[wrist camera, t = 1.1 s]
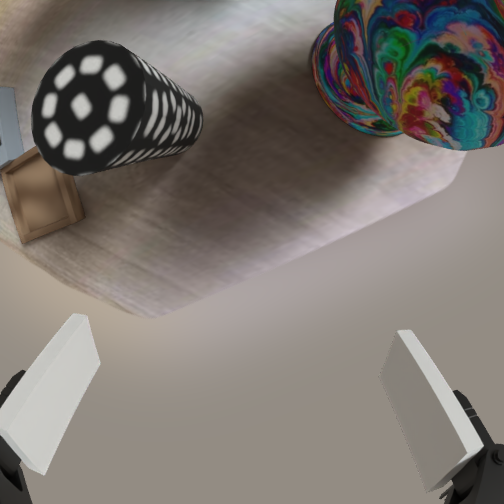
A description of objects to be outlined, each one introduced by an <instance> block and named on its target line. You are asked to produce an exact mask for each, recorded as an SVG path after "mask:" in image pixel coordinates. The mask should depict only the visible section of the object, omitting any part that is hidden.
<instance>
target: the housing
mask: <svg viewBox="0 0 504 504" xmlns="http://www.w3.org/2000/svg"><path fill="white" fill-rule="evenodd" d="M0 138H1V144H2V145H1V146H0V169H1V168H3V167H4V166H6V165H7V164H9V163H10V162H12V161H13V160H15V159H16V158H18V157H19V156H21V155H22V154H24V149H23V144H22V139H21V134H20V129H19V123H18V117H17V110H16V103H15V94H14V88H10V87H0ZM0 174H1V172H0Z"/></svg>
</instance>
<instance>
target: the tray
mask: <svg viewBox="0 0 504 504" xmlns="http://www.w3.org/2000/svg"><path fill="white" fill-rule="evenodd" d="M0 172H1V176H2V180H3V184H4V188H5V192H6V195H7V199H8V202H9V206H10V209H11V212H12V216H13V219H14V222H15V225H16V228H17V231H18V234H19V237H20V239H21V242H22V244H23V243H26V242H28V241H30V240H33V239H35V238H38V237H40V236H43V235H45V234H47V233H50V232H52V231H55V230H58V229H60V228H63V227H65V226H68V225H71V224H73V223H76V222H78V221H80V220H82V219H84V218H85V217H86V216H85V213H84V210H83V207H82V204H81V201H80V198H79V195H78V191H77V188H76V185H75V181H74V178H73V176H72V175H68V174H64V173H61V172H59V171H57V170H56V169H54V168H52V167H51V166H50V165H49V164H48V163H47V162H46V161H45V160H44V159H43V157H42V156H41V155H40V153H39V152H38V149H37V147H36V146H35V147H33V148H32V149H30V150H28V151H27V152H25V153H24V154H22V155H21V156H19V157H18V158H16V159H15V160H13V161H12V162H10V163H9V164H7V165H6V166H4V167H3V168H1V169H0Z"/></svg>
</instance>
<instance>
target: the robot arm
mask: <svg viewBox="0 0 504 504" xmlns="http://www.w3.org/2000/svg"><path fill="white" fill-rule="evenodd" d="M100 364H101V363H100V360H99V357H98V353H97V350H96V346H95V343H94V339H93V336H92V332H91V328H90V325H89V321H88V317H87V315H82V314H76V313H73V314H72V315H71V316H70V317H69V318H68V320H67V321H66V322H65V323H64V324H63V326H62V327H61V328H60V329H59V331H58V332H57V333H56V334H55V336H54V337H53V338H52V339H51V340H50V342H49V343H48V344H47V345H46V347H45V348H44V349H43V351H42V352H41V353H40V354H39V356H38V357H37V358H36V360H35V361H34V362H33V363H32V365H31V366H30V367H29V369H28V370H27V371H24V370H21V371H20V372H18V373H17V374H16V375H14V376H13V377H12V378H11V380H10V381H9V382H8V384H7V385H6V387H5V388H4V389H3V390H2V392H1V395H0V504H32V501H31V498H30V495H29V492H28V489H27V485H26V482H25V478H24V475H23V471H22V469H21V467H20V465H19V464H20V462H21V460H22V461H23V462H24V463H25V465H27V467H28V468H30V469H32V470H34V471H36V472H38V473H40V474H42V475H45V474H46V471H47V469H48V467H49V464H50V462H51V460H52V458H53V456H54V453H55V451H56V449H57V447H58V445H59V443H60V440H61V439H62V436H63V434H64V432H65V430H66V428H67V426H68V424H69V422H70V420H71V418H72V416H73V414H74V412H75V410H76V408H77V406H78V404H79V403H80V401H81V399H82V396H83V395H84V393H85V391H86V389H87V387H88V385H89V384H90V382H91V380H92V378H93V376H94V374H95V373H96V371H97V369H98V367H99V366H100ZM379 378H380V381H381V383H382V385H383V387H384V389H385V392H386V394H387V396H388V399H389V401H390V403H391V405H392V408H393V410H394V412H395V414H396V417H397V419H398V422H399V424H400V427H401V429H402V431H403V433H404V436H405V439H406V441H407V444H408V446H409V449H410V451H411V454H412V456H413V459H414V461H415V464H416V467H417V469H418V472H419V474H420V477H421V480H422V482H423V485H424V488H425V491H426V493H427V492H430V491H433V490H436V489H439V488H441V487H443V486H444V485H445V484H447V482H449V481H450V480H452V482H453V485H452V486H451V487H450V488H449V489H447V490H446V491H445V492H444V493H443V494H441V496H440V498H439V499H442V498H443V497H444V496H446V495H447V494H448V495H447V497H446V499H445V503H444V504H504V445H503V444H495V443H494V442H493V441H492V439H491V437H490V435H489V434H488V432H487V430H486V428H485V427H484V425H483V424H482V422H481V420H480V419H479V417H478V416H477V414H476V412H475V410H474V409H472V406H471V404H470V402H469V401H468V399H467V398H466V397H465V396H464V395H463V394H462V393H461V392H459V391H458V390H455V391H452V390H451V389H450V387H449V385H448V384H447V382H446V381H445V379H444V378H443V376H442V375H441V373H440V372H439V370H438V369H437V367H436V366H435V364H434V362H433V361H432V359H431V358H430V357H429V355H428V354H427V352H426V351H425V349H424V348H423V346H422V345H421V343H420V342H419V341H418V339H417V338H416V336H415V335H414V333H413V332H412V330H398V331H396V333H395V336H394V339H393V342H392V345H391V347H390V350H389V353H388V356H387V358H386V361H385V363H384V365H383V368H382V371H381V373H380V375H379Z"/></svg>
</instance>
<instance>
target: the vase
mask: <svg viewBox="0 0 504 504" xmlns="http://www.w3.org/2000/svg"><path fill="white" fill-rule="evenodd" d="M312 70H313V76H314V80H315V83H316V85H317V88H318V90H319V92H320V94H321V96H322V98H323V99H324V101H325V102H326V104H327V105H328V106H329V108H330V109H331V110H332V111H333V112H334V113H335V114H336V115H337V116H338V117H339V118H340V119H341V120H343V121H344V122H345V123H347V124H348V125H350V126H351V127H353V128H355V129H357V130H359V131H362V132H364V133H367V134H371V135H376V136H394V135H399V134H402V133H405V134H406V135H408V136H410V137H412V138H414V139H416V140H419V141H421V142H424V143H428V144H431V145H435V146H439V147H443V148H447V149H452V150H460V151H467V150H475V149H482V148H488V147H494V146H498V145H501V144H504V0H337V2H336V6H335V11H334V22H333V23H331V24H330V25H329V26H327V27H326V28H325V29H324V30H323V31H322V33H321V34H320V35H319V37H318V39H317V41H316V43H315V46H314V49H313V54H312Z"/></svg>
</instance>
